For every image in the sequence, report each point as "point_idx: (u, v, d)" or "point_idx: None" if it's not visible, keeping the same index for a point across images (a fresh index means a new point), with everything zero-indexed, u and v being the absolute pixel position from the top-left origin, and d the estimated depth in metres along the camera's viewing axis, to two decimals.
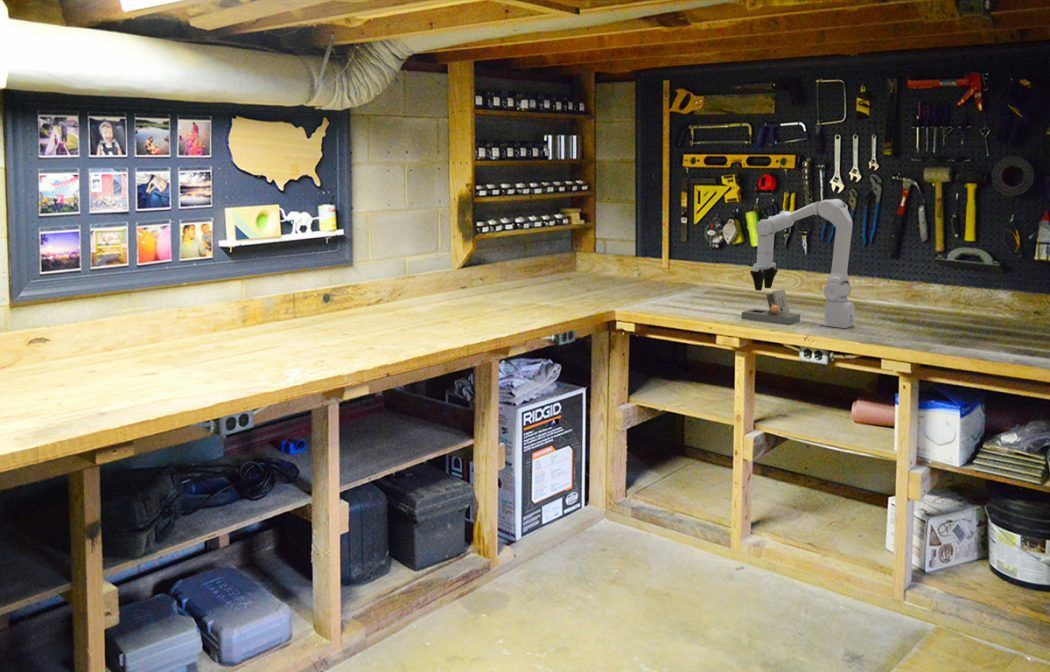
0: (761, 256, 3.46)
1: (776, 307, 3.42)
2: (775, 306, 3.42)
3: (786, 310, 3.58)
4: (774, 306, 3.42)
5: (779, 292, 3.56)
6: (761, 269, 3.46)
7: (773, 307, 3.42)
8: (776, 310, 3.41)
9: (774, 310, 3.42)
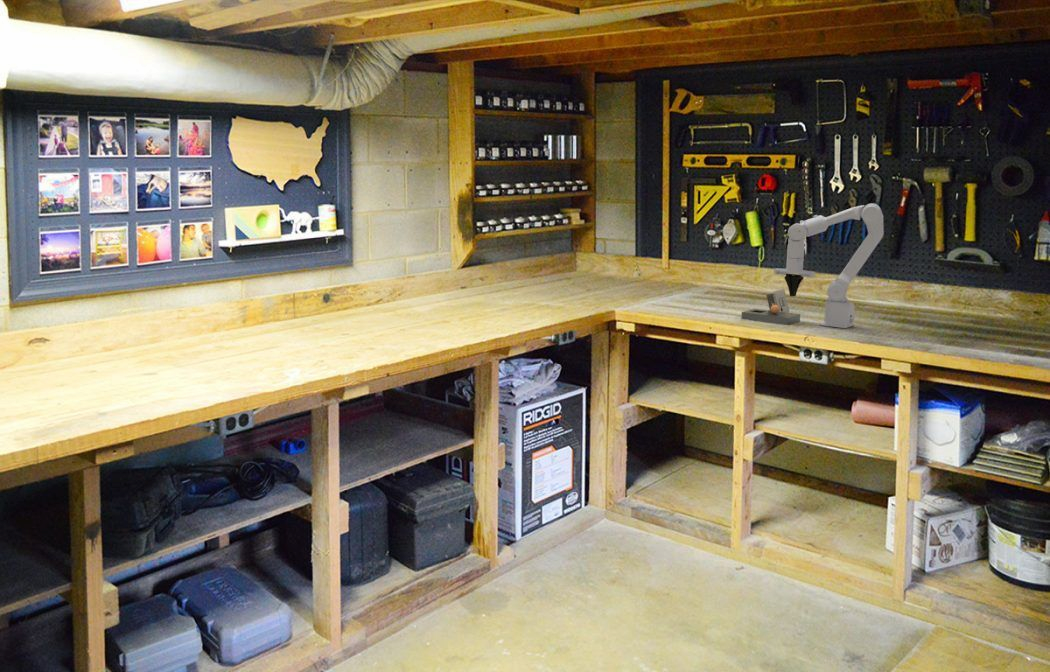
0: None
1: (776, 307, 3.42)
2: (775, 306, 3.42)
3: (786, 310, 3.58)
4: (774, 306, 3.42)
5: (779, 292, 3.56)
6: (785, 274, 3.38)
7: (773, 307, 3.42)
8: (776, 310, 3.41)
9: (774, 310, 3.42)
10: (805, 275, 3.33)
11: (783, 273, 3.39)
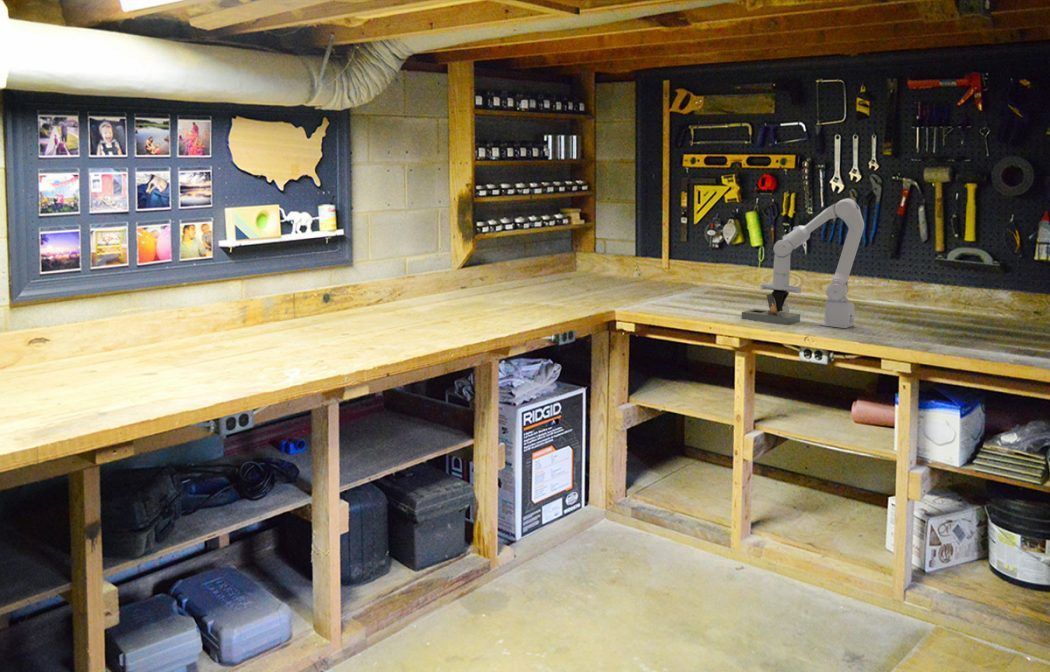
0: None
1: (775, 307, 3.42)
2: (774, 306, 3.42)
3: (786, 310, 3.58)
4: (773, 306, 3.42)
5: None
6: (772, 289, 3.42)
7: (772, 307, 3.42)
8: (775, 310, 3.42)
9: (774, 310, 3.42)
10: (791, 291, 3.38)
11: (770, 288, 3.43)
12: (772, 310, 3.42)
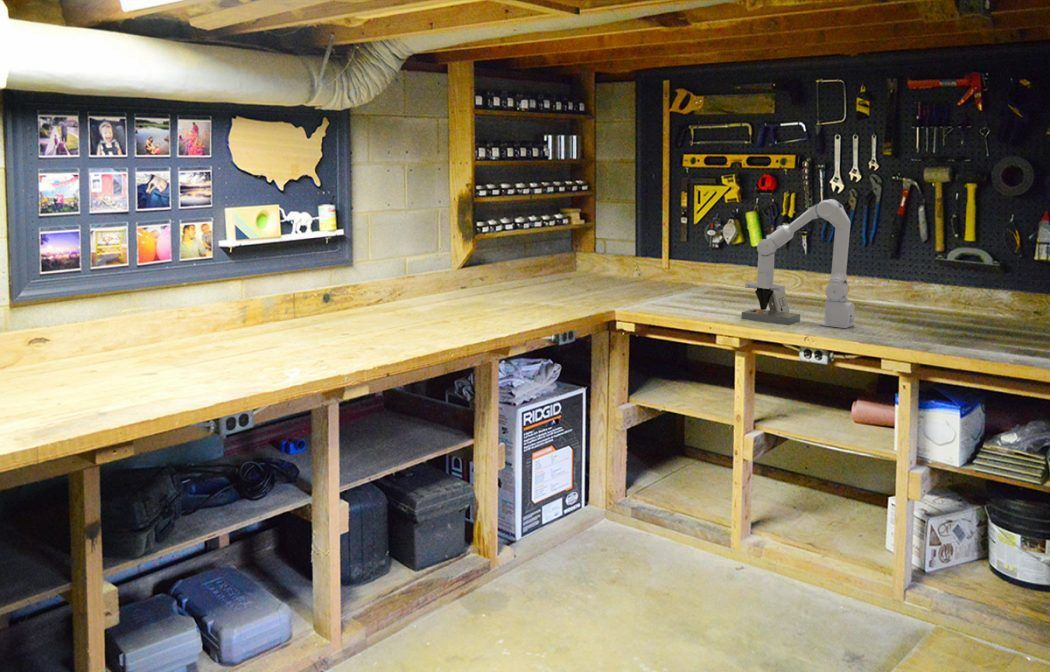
0: None
1: None
2: None
3: (786, 310, 3.58)
4: None
5: (779, 292, 3.56)
6: (756, 288, 3.46)
7: None
8: None
9: None
10: (775, 289, 3.41)
11: (754, 287, 3.47)
12: None
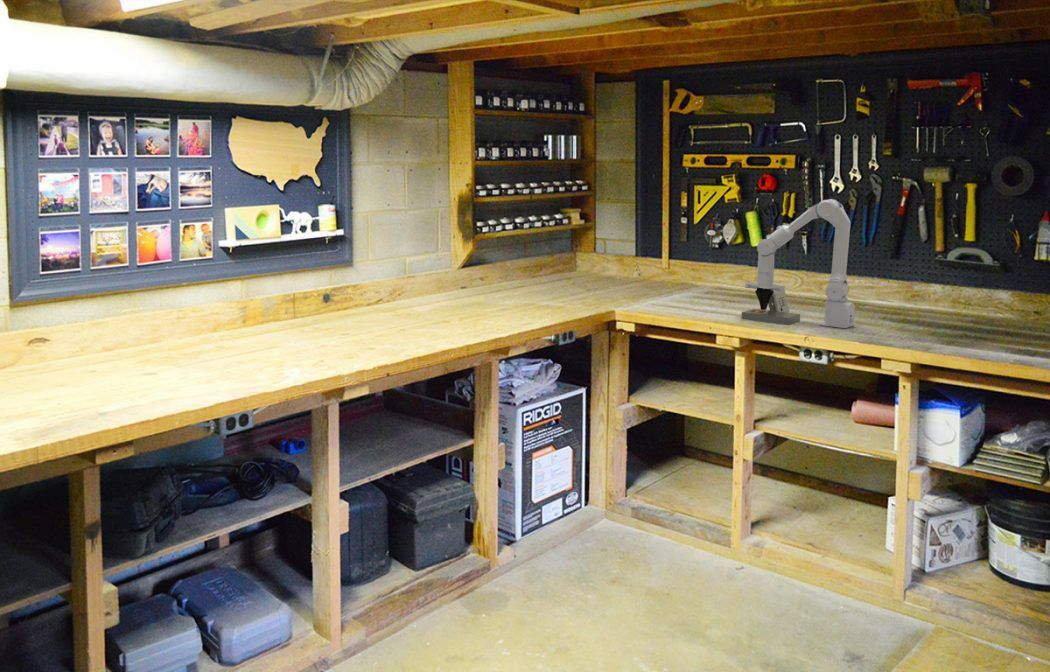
0: None
1: None
2: None
3: (786, 310, 3.58)
4: None
5: (779, 292, 3.56)
6: (756, 288, 3.46)
7: None
8: None
9: None
10: (775, 289, 3.41)
11: (754, 287, 3.47)
12: None
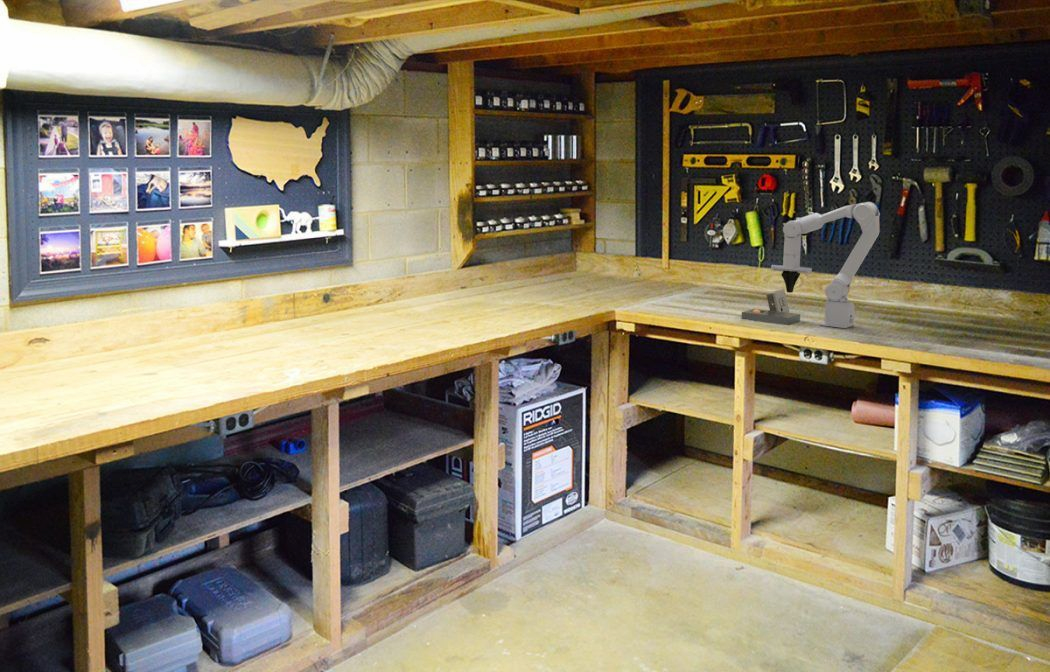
0: None
1: None
2: None
3: (786, 310, 3.58)
4: None
5: (779, 292, 3.56)
6: (782, 270, 3.41)
7: None
8: None
9: None
10: (802, 271, 3.37)
11: (780, 270, 3.42)
12: None
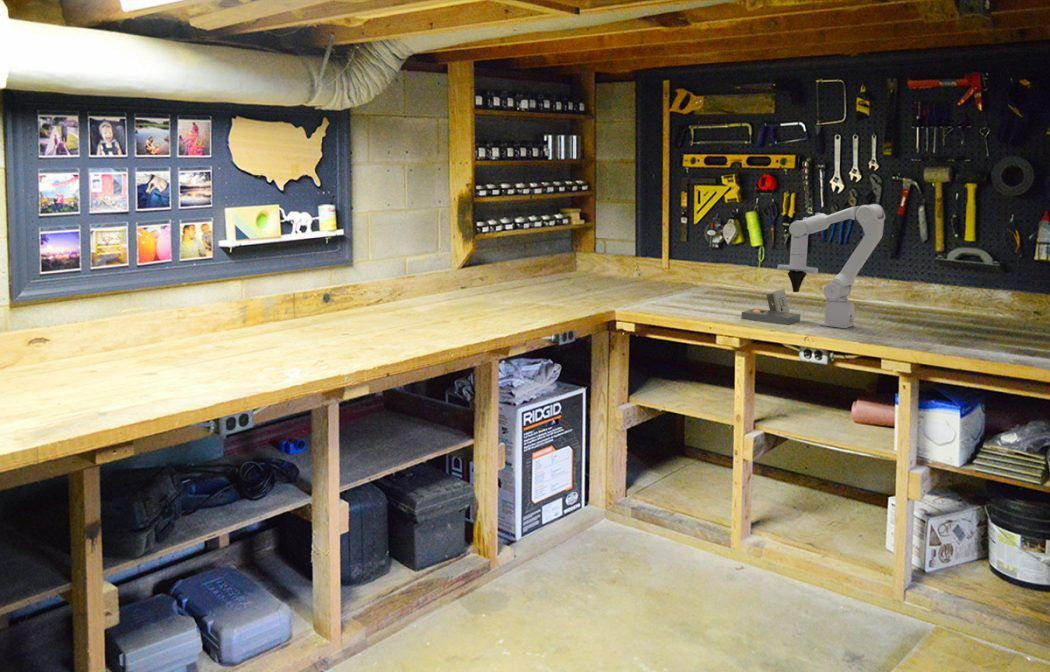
0: None
1: None
2: None
3: (786, 310, 3.58)
4: None
5: (779, 292, 3.56)
6: (789, 270, 3.42)
7: None
8: None
9: None
10: (808, 271, 3.38)
11: (786, 269, 3.43)
12: None
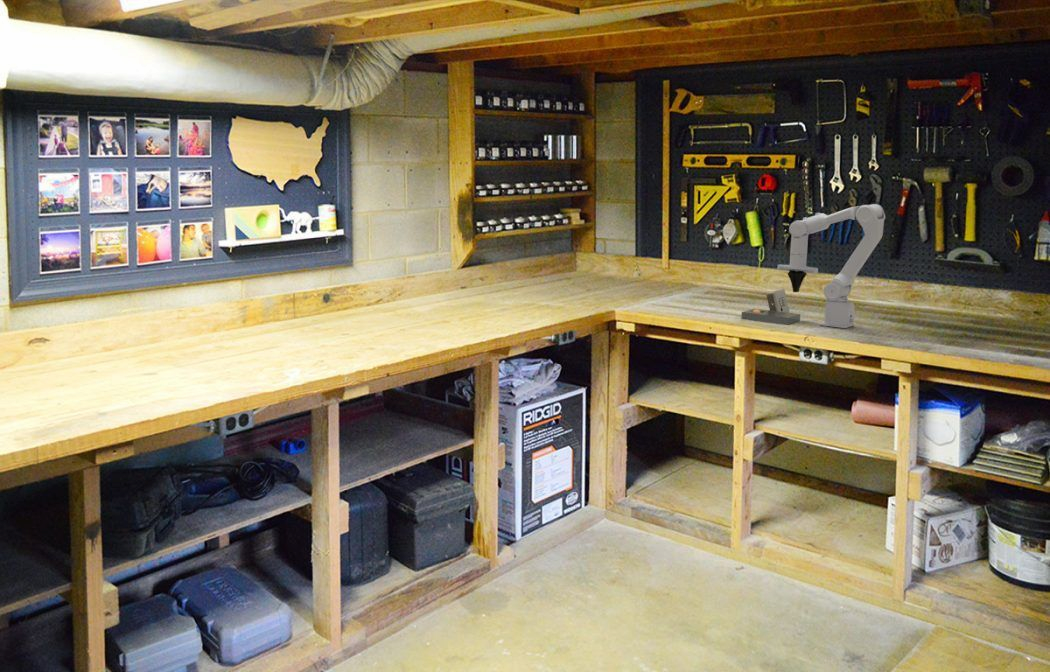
0: None
1: None
2: None
3: (786, 310, 3.58)
4: None
5: (779, 292, 3.56)
6: (789, 270, 3.42)
7: None
8: None
9: None
10: (808, 271, 3.38)
11: (786, 269, 3.43)
12: None
